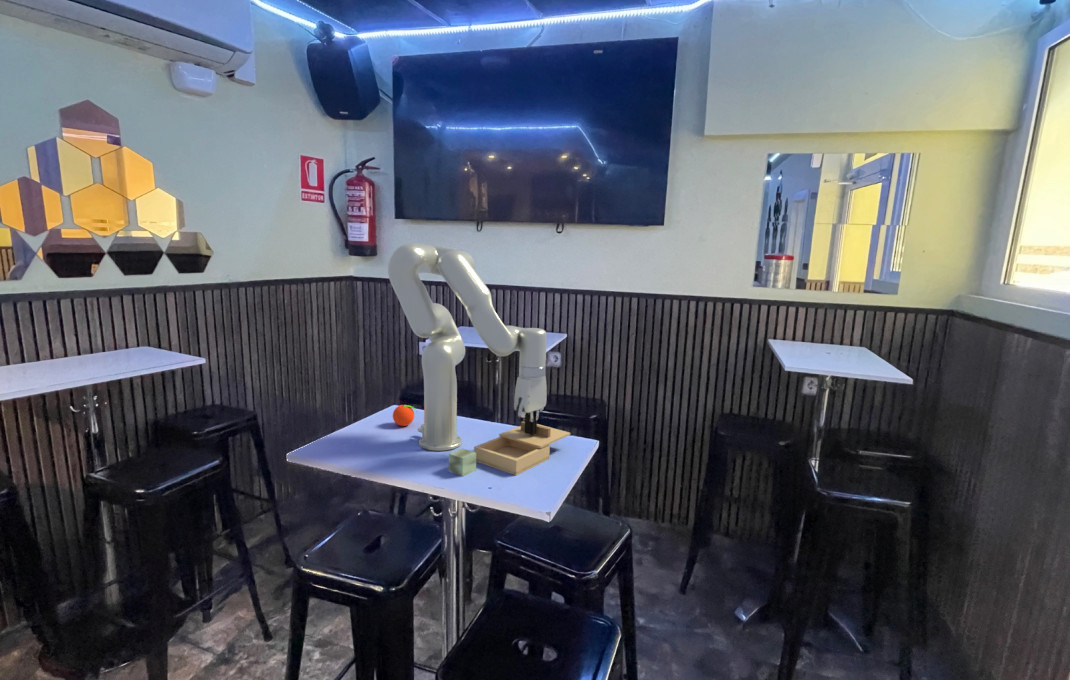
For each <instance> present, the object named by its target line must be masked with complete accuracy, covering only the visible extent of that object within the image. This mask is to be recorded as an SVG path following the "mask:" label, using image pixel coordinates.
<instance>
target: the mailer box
mask: <svg viewBox="0 0 1070 680" xmlns="http://www.w3.org/2000/svg"><path fill="white" fill-rule="evenodd" d="M550 446H551V444H549V445H547V446H545V447H543V448H538V447H534V446H531V445H527V444H524V443H521V442H517V441H514V440H511V439H507V438H504V437H501V436H499V437H496V438H494V439H490V440H489V441H486V442H483V443H481V444H477V445H475V446H474V447H473V452H475V453H476V463H480V464H482V465H485V466H488V467H491V468H494V469H496V470H500V471H503V472H505V473H507V474H511V475H514V476H517V475H520V474H522V473H524V472H526V471H528V470H529V469H532V468H534V467H535V466H537V465H540V464H542V463H544V462H546V461H548V460H549V459H550V453H551V451H550V450H551V449H550Z"/></svg>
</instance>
